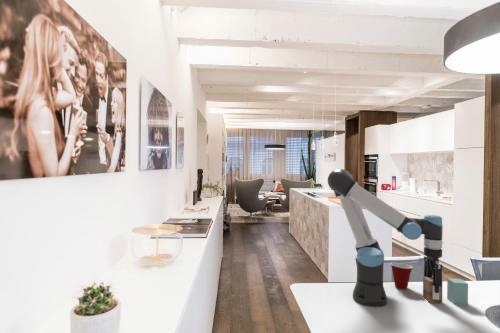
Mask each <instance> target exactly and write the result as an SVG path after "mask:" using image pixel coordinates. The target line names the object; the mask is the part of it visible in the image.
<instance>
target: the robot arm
mask: <svg viewBox="0 0 500 333" xmlns="http://www.w3.org/2000/svg"><path fill="white" fill-rule="evenodd" d="M327 184H328V187H329V188H330V189H331V190H332V191H333V192H334V195H335V197H336V198H337V199H339V200H340V202H341V205H342V208H343V210H344V213H345V216H346V218H347V221H348V224H349V226H350V229H351V231H352V234H353V237H354V240H355V243H356V244H355V246H354V247H355V248H354V249H355V250H356V262H357V263H356V282H355V286H354V288H353V291H352V299H353V300H354V301H355V302H357V303H359V304H362V305H366V306H369V307H383V306H386V305H387V303H388V298H387V293H386V291H385V288H384V262H385V254H384V251H383V250H382V248H381V247H380V244H379V242H378V239H375V238H374V237H373V235H372V231H371V230H370V227H369V224H368V222H367V219H366V217H365V215H364V212H363V209H362V207H363V208H364V209H365V210H367V211H368V212H370V213H371V214H373V215H374V216H376V217H377V218H379V219H380V220H382V221H383V222H385V224H387V225H389V226H390V227H392V228H394V229H395V230H396V231H397V232H398V233H401V234H402V235H403V236H404V237H405V238H407V239H408V240H411V241H412V240H413V241H414V240H417V239H419V238H420V237H421V236H422V235H423V254H424V257H423V261H424V264H423V277H433V284H432V299H436V300H439V286H442V287H443V264H441V263H440V261H439V260H440V259H441V258H443V243H444V241H443V218H442V217H441V216H440V215H437V214H425V215H424V216H423V218H412V217H407V216H406V215H404V214H403V213H401V212H400V211H399V210H397V209H395V208H394V207H392V206H391V205H389V204H388V203H387V202H385V201H383V200H382V199H380V198H379V197H377V196H376V195H374V194H373V193H371V192H370V191H368V190H367V189H365V188H363V187H362V186H360V185H359V183H358V181H356V179H355V178H354V175H353V174H352V173H351V172H350V170H346V169H342V168H340V169H339V168H337V169H334V170H332V171H331V172H329V174H328V176H327Z"/></svg>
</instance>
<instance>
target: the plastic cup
mask: <svg viewBox="0 0 500 333" xmlns="http://www.w3.org/2000/svg"><path fill="white" fill-rule="evenodd" d="M390 266H391V271H392V278H393V281H394V283H393V284H394V287H396V288H397V289H400V290H406V289H408V286H409V281H410V277H411V272H412V270H413V269H414V267H413V266H412V265H410V264H407V263H402V262H390Z"/></svg>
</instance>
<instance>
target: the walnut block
mask: <svg viewBox="0 0 500 333" xmlns="http://www.w3.org/2000/svg"><path fill="white" fill-rule="evenodd" d="M422 282H423V283H422V298H423V297H424V298H423V299H424V300H425V299H426V300H427V301H428V302H427V301H426V300H425V301H426V302H427V303H429V304H430V303H432V304H443V285H442V286H439V300H436V299H432V284H433V276H432V277H424V276H422Z"/></svg>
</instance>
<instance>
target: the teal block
mask: <svg viewBox="0 0 500 333" xmlns="http://www.w3.org/2000/svg"><path fill="white" fill-rule="evenodd" d="M446 282H447V283H446V284H447V288H446V289H447V292H446V298H447V300H448V301H449V302H450V303H451V302H452V303H451V304H453V305H456V306H457V305H458V306H468V305H469V283H468V282H466V281H465V280H463V279H461V278H449V277H447V279H446Z"/></svg>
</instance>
